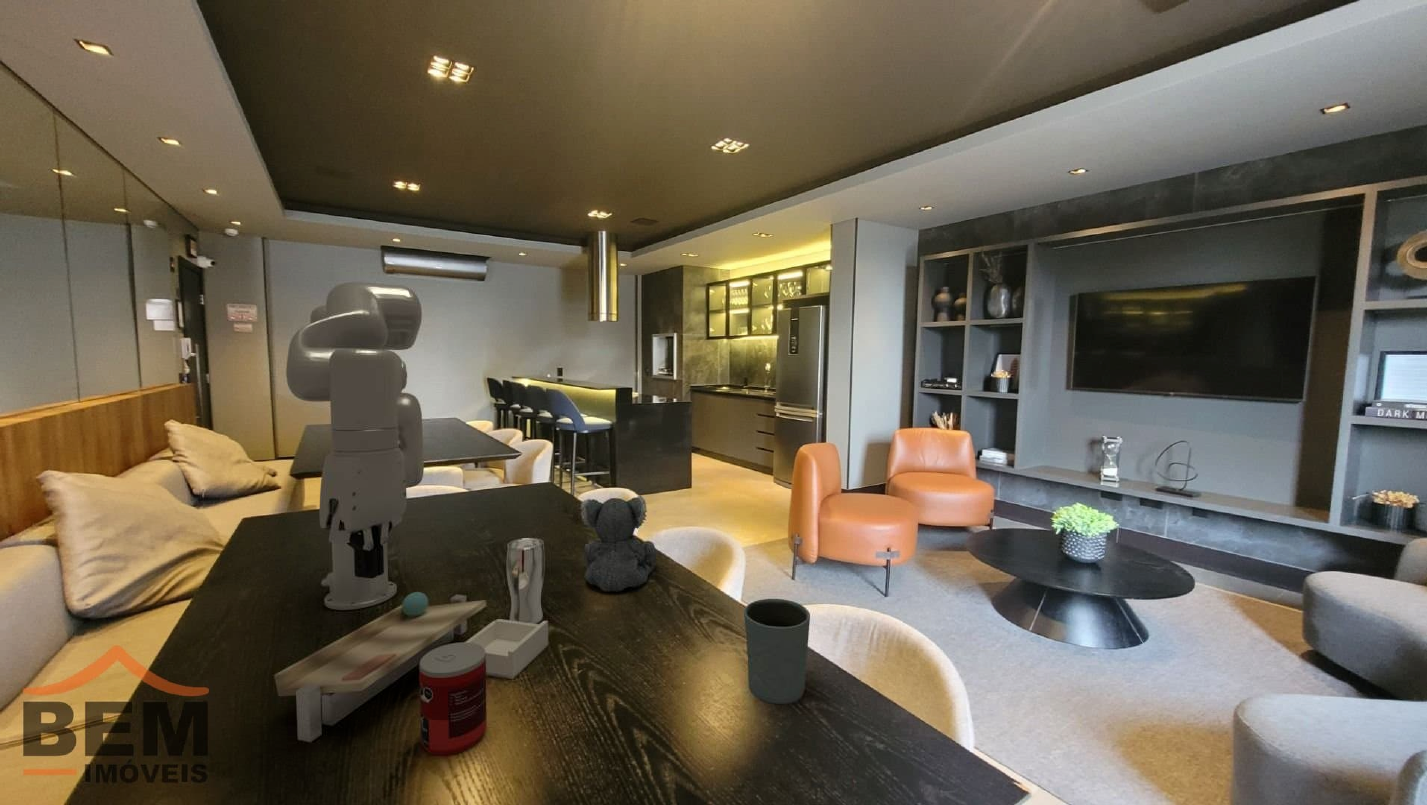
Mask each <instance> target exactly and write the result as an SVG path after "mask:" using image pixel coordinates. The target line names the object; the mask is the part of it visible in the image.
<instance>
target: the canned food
mask: <svg viewBox="0 0 1427 805" xmlns="http://www.w3.org/2000/svg"><path fill="white" fill-rule="evenodd" d="M418 669H419V670H418V671H419V672H418V674H419V675H418V676H419V678H418V679H419V683H418V684H419V710H420V711H419V714H420V715H419V716H420V717H419V718H420V742H421V744H422V746H423V748H424V750H426V751H427V752H428V753H430V754H433V755H436V754H437V756H448V755H449V754H451V755H455V754H458V752H459V753H462V752H464V751H466V749H467V750H469V749H470V748H471V747H474V746H475V745H477V743H478V742H480V741H481V739H482V738H483V737H484V734H485V733H486V732H485V731H486V730H487V723H488V722H487V721H488V720H487V716H488V715H487V675H486V654H485V649H484V648H483V647H482V646H480V645H478V644H475V643H467V642H466V641H463V642H454V643H448V644H446V645H444V646H441V647H438V648H436V649H434V650H432V651H430V652H428V653H427V654H425V655H424V656H423V657H422V659H421V661H420V664H419V666H418ZM461 751H462V752H461ZM449 756H450V755H449Z"/></svg>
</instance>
